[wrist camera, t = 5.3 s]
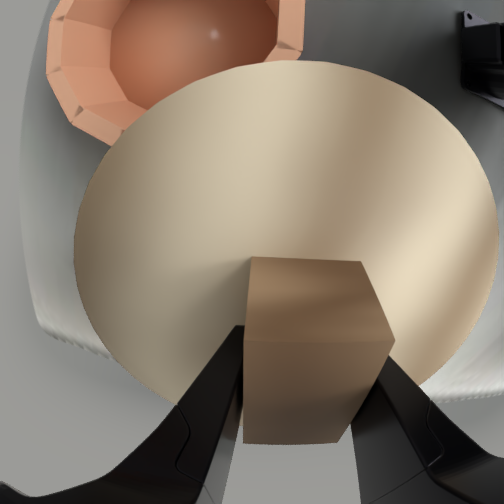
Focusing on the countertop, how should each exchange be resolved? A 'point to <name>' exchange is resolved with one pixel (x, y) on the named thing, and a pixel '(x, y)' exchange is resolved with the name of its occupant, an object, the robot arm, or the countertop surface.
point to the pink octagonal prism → (157, 51)
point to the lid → (287, 241)
